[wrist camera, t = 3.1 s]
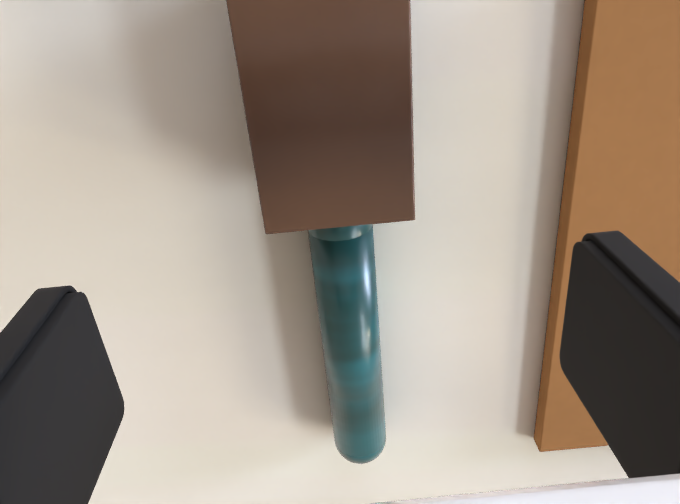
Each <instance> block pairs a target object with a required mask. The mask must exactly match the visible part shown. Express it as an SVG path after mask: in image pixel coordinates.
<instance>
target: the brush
mask: <svg viewBox="0 0 680 504" xmlns="http://www.w3.org/2000/svg"><path fill="white" fill-rule="evenodd" d="M226 2H227V8H228V14H229V20H230V26H231V32H232V37H233V43H234V49H235V55H236V61H237V67H238V73H239V79H240V85H241V91H242V97H243V103H244V109H245V115H246V121H247V127H248V133H249V139H250V144H251V150H252V156H253V162H254V168H255V174H256V180H257V186H258V192H259V198H260V204H261V210H262V216H263V222H264V228H265V233H266V234H273V233H284V232H294V231H305V230H308V234H309V241H310V249H311V257H312V265H313V273H314V281H315V289H316V297H317V305H318V313H319V321H320V329H321V336H322V344H323V352H324V360H325V368H326V376H327V384H328V392H329V400H330V408H331V416H332V424H333V431H334V439H335V444H336V447H337V449H338V451H339V453H340V454H341V455H342V456H343V457H344V458H345V459H347V460H348V461H350V462H353V463H358V464H363V463H367V462H370V461H372V460H374V459H375V458H377V457H378V456H379V454H380V453H381V452H382V450H383V448H384V445H385V441H386V430H385V414H384V399H383V383H382V367H381V351H380V336H379V320H378V304H377V288H376V273H375V257H374V241H373V225H372V224H378V223H389V222H399V221H410V220H415V193H414V147H413V102H412V57H411V12H410V0H226Z"/></svg>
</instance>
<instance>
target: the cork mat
mask: <svg viewBox="0 0 680 504" xmlns="http://www.w3.org/2000/svg"><path fill="white" fill-rule="evenodd" d="M607 231H620V232H621V233H623V234H624V235H625V236H626V237H627V238H628V239H630V240H631V241H632V242H633V243H634V244H635V245H637V246H638V247H639V248H640V249H641V250H642V251H644V252H645V253H646V254H647V255H648V256H649V257H651V258H652V259H653V260H654V261H655V262H656V263H658V264H659V265H660V266H661V267H662V268H663V269H665V270H666V271H667V272H668V273H669V274H670V275H672V276H673V277H674V278H675V279H676V280H677V281H678V282H680V0H585V4H584V13H583V21H582V30H581V38H580V47H579V56H578V64H577V73H576V81H575V90H574V98H573V107H572V116H571V124H570V133H569V141H568V150H567V158H566V167H565V176H564V184H563V193H562V201H561V210H560V218H559V227H558V236H557V244H556V253H555V261H554V270H553V279H552V287H551V296H550V304H549V313H548V321H547V330H546V339H545V347H544V356H543V364H542V373H541V381H540V390H539V399H538V407H537V416H536V424H535V433H534V440H535V442H536V445H537V447H538V449H539V451H540V452H543V451H553V450H564V449H575V448H585V447H596V446H607V445H608V444H607V442H606V440H605V439H604V437H603V435H602V434H601V432H600V431H599V429H598V427H597V426H596V424H595V423H594V421H593V419H592V418H591V416H590V415H589V413H588V411H587V410H586V408H585V407H584V405H583V403H582V402H581V400H580V399H579V397H578V395H577V394H576V392H575V391H574V389H573V387H572V386H571V384H570V383H569V381H568V379H567V378H566V376H565V375H564V373H563V371H562V368H561V365H560V358H559V354H560V345H561V337H562V330H563V322H564V314H565V306H566V298H567V290H568V282H569V274H570V267H571V259H572V251H573V246H574V244H575V243H576V242H581V241H582V238H583V237H584V235H585V234H587V233H597V232H607Z"/></svg>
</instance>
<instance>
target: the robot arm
mask: <svg viewBox="0 0 680 504" xmlns="http://www.w3.org/2000/svg"><path fill="white" fill-rule="evenodd" d="M559 358H560V365H561V368H562V371H563V373H564V375H565V376H566V378H567V379H568V381H569V383H570V384H571V386H572V387H573V389H574V391H575V392H576V394H577V395H578V397H579V399H580V400H581V402H582V403H583V405H584V407H585V408H586V410H587V411H588V413H589V415H590V416H591V418H592V419H593V421H594V423H595V424H596V426H597V427H598V429H599V431H600V432H601V434H602V435H603V437H604V439H605V440H606V442H607V444H608V445H609V447H610V448H611V450H612V452H613V453H614V455H615V456H616V458H617V460H618V461H619V463H620V464H621V466H622V468H623V469H624V471H625V472H626V474H627V476H628V477H629V478H626V479H614V480H603V481H592V482H582V483H572V484H562V485H551V486H541V487H531V488H521V489H511V490H500V491H490V492H480V493H470V494H459V495H449V496H439V497H429V498H420V499H410V500H400V501H390V502H381V503H371V504H680V282H678V281H677V280H676V279H675V278H674V277H673V276H672V275H670V274H669V273H668V272H667V271H666V270H665V269H663V268H662V267H661V266H660V265H659V264H658V263H656V262H655V261H654V260H653V259H652V258H651V257H649V256H648V255H647V254H646V253H645V252H644V251H642V250H641V249H640V248H639V247H638V246H637V245H635V244H634V243H633V242H632V241H631V240H630V239H628V238H627V237H626V236H625V235H624V234H623V233H621V232H620V231H607V232H597V233H587V234H585V235H584V237H583V238H582V241H581V242H576V243H575V244H574V246H573V251H572V259H571V267H570V274H569V282H568V290H567V298H566V306H565V314H564V322H563V330H562V337H561V345H560V354H559ZM123 415H124V401H123V397H122V394H121V391H120V389H119V386H118V383H117V380H116V377H115V375H114V372H113V369H112V366H111V363H110V361H109V358H108V355H107V352H106V349H105V347H104V344H103V341H102V338H101V335H100V333H99V330H98V327H97V324H96V321H95V319H94V316H93V313H92V310H91V308H90V305H89V302H88V299H87V297H86V295H85V294H84V293H82V292H77V291H76V290H75V289H74V288H73V287H72V286H61V287H51V288H41V289H37V290H36V291H35V292H34V293H33V294H32V296H31V297H30V298H29V299H28V300H27V302H26V303H25V304H24V305H23V306H22V308H21V309H20V310H19V311H18V312H17V314H16V315H15V316H14V317H13V318H12V320H11V321H10V322H9V323H8V324H7V326H6V327H5V328H4V329H3V331H2V332H1V333H0V504H88V502H89V500H90V497H91V495H92V492H93V490H94V487H95V485H96V483H97V480H98V478H99V475H100V473H101V470H102V468H103V465H104V463H105V460H106V458H107V455H108V453H109V450H110V448H111V446H112V443H113V441H114V438H115V436H116V433H117V431H118V428H119V426H120V423H121V421H122V418H123Z"/></svg>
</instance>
